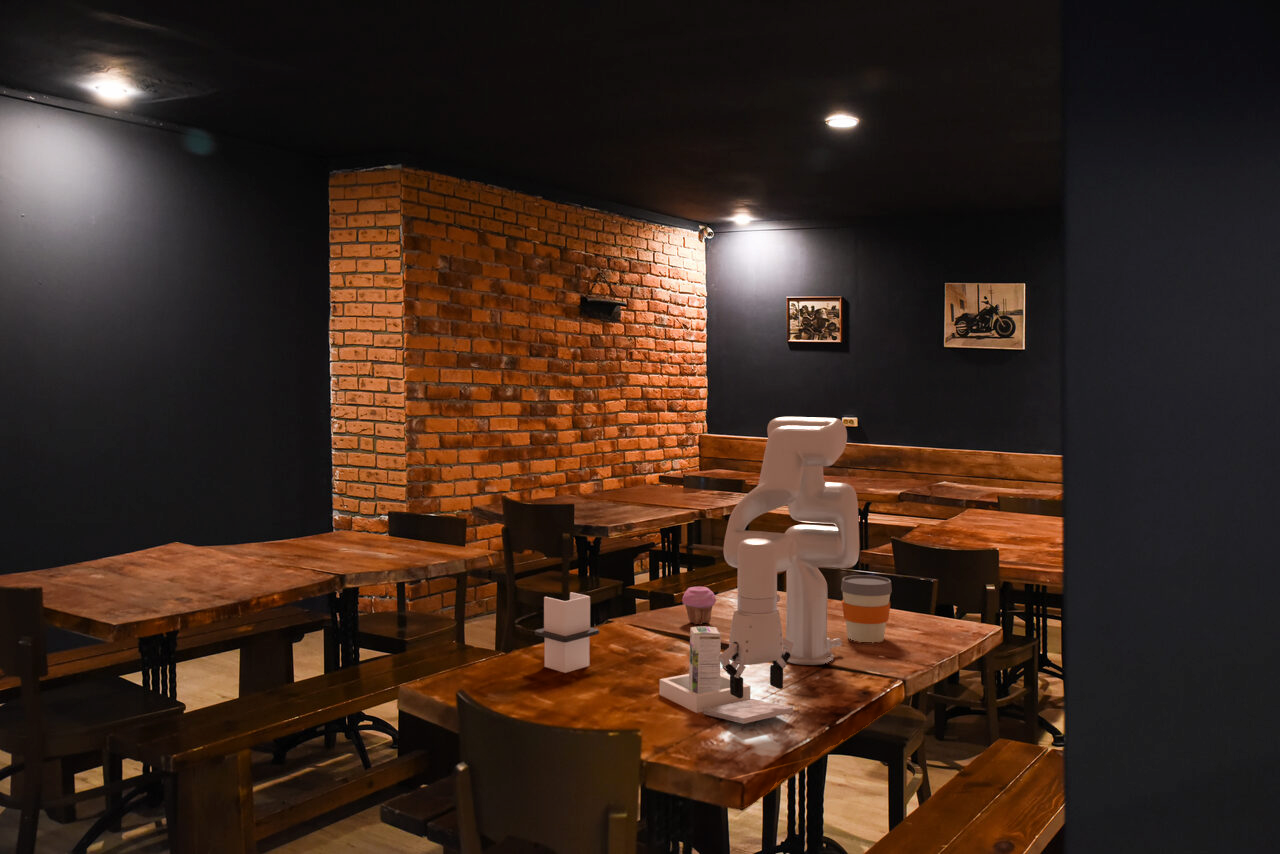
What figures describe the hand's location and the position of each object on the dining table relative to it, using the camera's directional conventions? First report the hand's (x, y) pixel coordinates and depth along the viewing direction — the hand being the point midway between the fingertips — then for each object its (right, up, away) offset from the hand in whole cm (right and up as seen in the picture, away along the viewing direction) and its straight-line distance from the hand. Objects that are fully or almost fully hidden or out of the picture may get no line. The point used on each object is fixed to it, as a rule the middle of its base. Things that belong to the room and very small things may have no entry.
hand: (756, 691), depth 197 cm
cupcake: (-7, -2, +78) cm, 79 cm away
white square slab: (-2, -5, +2) cm, 5 cm away
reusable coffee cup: (+35, -3, +63) cm, 72 cm away
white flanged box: (-39, -4, +38) cm, 55 cm away
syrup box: (-9, -6, +15) cm, 18 cm away
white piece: (-9, -5, +14) cm, 18 cm away
